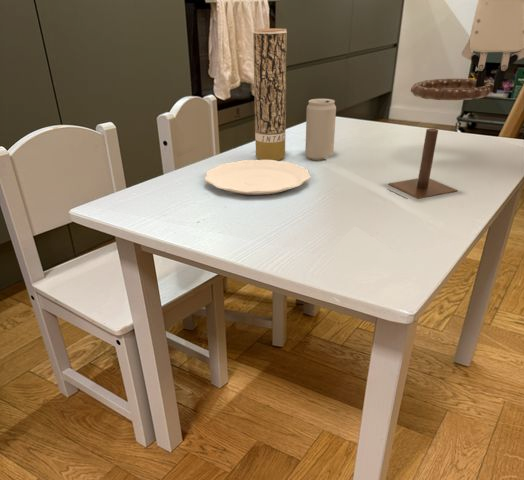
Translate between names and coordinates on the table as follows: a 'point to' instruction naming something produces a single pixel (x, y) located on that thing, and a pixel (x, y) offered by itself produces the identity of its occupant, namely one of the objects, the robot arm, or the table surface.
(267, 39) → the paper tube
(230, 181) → the plate
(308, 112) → the beverage can
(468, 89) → the ring
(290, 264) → the table surface
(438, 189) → the peg stand
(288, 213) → the table surface
